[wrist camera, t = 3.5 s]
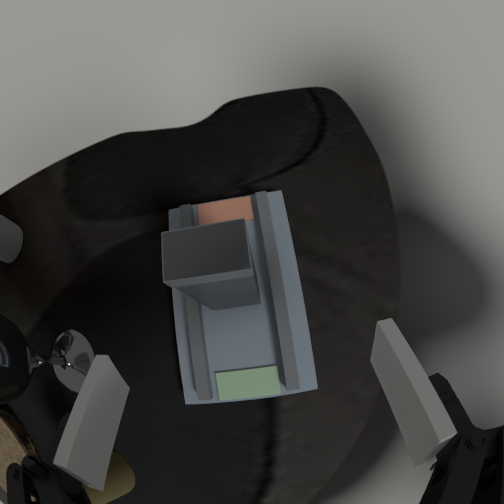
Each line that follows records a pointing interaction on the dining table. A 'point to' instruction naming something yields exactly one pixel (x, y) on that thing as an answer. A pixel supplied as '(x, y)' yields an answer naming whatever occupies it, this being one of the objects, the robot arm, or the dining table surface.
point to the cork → (113, 481)
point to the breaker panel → (246, 313)
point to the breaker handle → (211, 264)
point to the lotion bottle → (9, 240)
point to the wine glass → (41, 360)
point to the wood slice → (13, 445)
